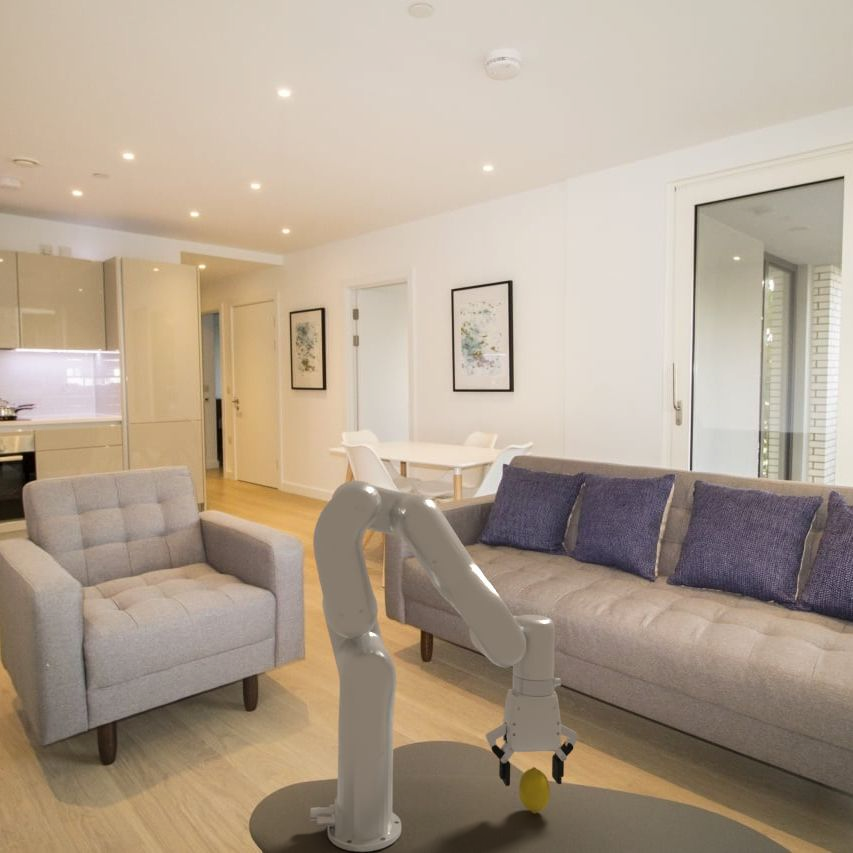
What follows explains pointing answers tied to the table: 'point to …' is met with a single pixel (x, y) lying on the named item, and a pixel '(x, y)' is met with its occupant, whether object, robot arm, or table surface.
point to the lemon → (534, 790)
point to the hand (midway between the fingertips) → (531, 781)
